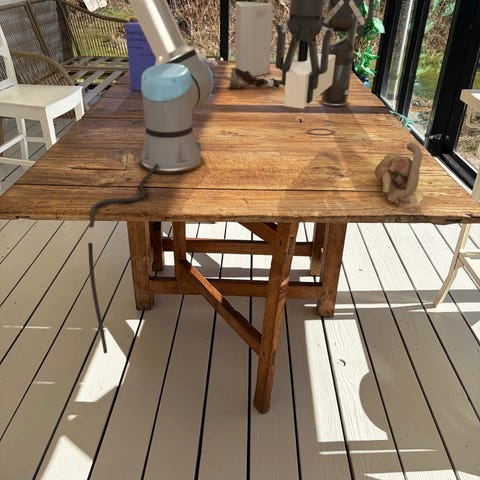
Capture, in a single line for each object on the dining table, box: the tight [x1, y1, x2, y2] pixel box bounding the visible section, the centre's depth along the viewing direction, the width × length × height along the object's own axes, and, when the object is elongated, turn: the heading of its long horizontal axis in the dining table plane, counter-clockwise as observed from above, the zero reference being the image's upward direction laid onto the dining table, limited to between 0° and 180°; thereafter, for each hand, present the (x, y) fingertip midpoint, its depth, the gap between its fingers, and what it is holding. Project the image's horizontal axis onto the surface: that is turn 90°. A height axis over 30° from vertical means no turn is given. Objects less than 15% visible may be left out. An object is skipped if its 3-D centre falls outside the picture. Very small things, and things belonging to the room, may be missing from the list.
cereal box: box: [124, 21, 156, 92], centre depth 181 cm, size 17×5×24 cm, turn 86°
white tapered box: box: [234, 1, 274, 77], centre depth 210 cm, size 19×15×28 cm
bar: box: [283, 52, 336, 109], centre depth 127 cm, size 28×5×8 cm, turn 156°
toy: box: [196, 51, 219, 68], centre depth 223 cm, size 24×25×7 cm
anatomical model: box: [374, 141, 423, 205], centre depth 107 cm, size 13×9×15 cm
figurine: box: [212, 66, 282, 89], centre depth 190 cm, size 24×8×30 cm
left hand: (298, 99), depth 120 cm, fingers closed on bar, 5 cm apart
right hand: (341, 39), depth 128 cm, fingers open, 8 cm apart
